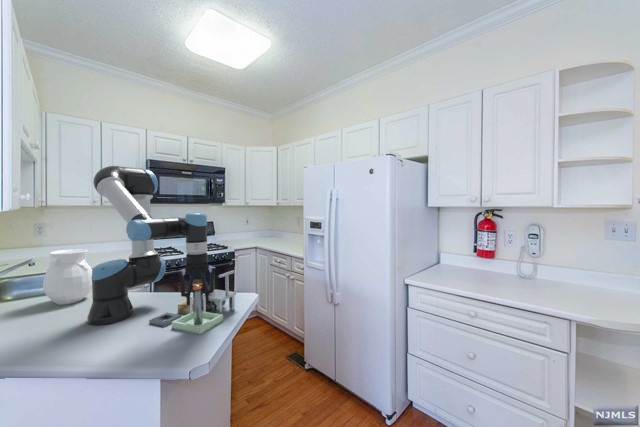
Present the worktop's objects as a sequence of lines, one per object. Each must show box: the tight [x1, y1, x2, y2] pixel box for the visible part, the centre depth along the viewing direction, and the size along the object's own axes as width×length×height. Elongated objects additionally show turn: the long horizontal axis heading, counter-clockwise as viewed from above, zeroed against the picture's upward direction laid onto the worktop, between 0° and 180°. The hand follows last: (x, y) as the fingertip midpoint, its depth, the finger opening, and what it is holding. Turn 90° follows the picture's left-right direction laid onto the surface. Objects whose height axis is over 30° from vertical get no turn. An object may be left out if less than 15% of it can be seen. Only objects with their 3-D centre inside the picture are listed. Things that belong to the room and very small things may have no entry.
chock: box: [177, 299, 194, 314], centre depth 118 cm, size 6×5×4 cm
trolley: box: [202, 269, 237, 315], centre depth 117 cm, size 12×10×18 cm
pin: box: [191, 283, 204, 325], centre depth 104 cm, size 4×4×15 cm
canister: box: [193, 264, 216, 301], centre depth 131 cm, size 10×10×18 cm
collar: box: [148, 312, 182, 328], centre depth 107 cm, size 8×8×2 cm
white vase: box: [42, 248, 93, 306], centre depth 130 cm, size 19×18×25 cm
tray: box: [171, 311, 224, 336], centre depth 104 cm, size 14×12×3 cm
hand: (198, 311), depth 104 cm, fingers open, 4 cm apart
